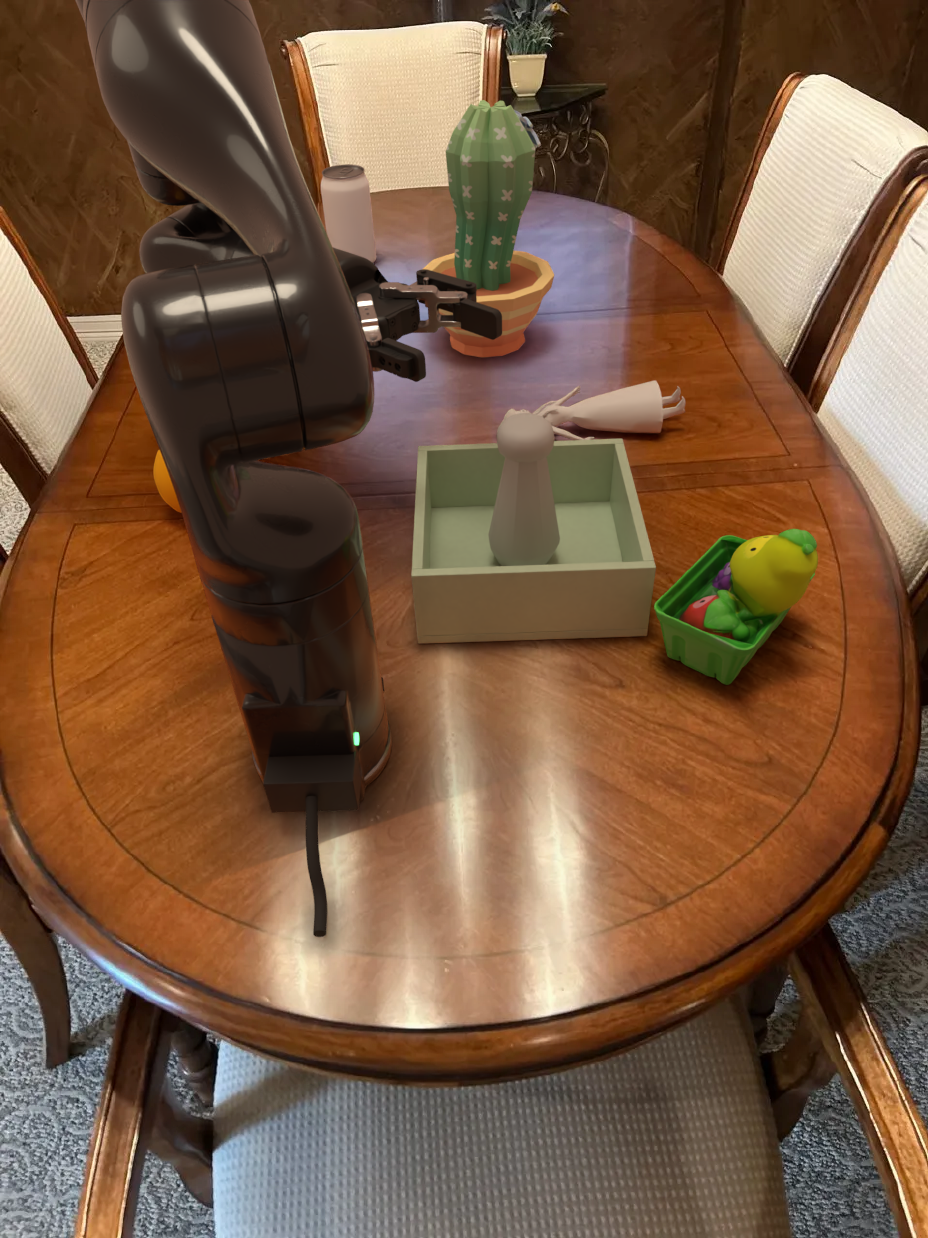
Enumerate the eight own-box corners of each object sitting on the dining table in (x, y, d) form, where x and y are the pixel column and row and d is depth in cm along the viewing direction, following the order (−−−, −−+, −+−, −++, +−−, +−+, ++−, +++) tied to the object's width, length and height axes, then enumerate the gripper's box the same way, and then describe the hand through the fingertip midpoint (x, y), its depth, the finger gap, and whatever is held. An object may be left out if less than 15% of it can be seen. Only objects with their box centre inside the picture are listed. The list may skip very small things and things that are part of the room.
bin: (647, 636, 70) (656, 567, 65) (417, 643, 70) (411, 575, 66) (616, 503, 83) (622, 438, 78) (423, 510, 83) (418, 445, 79)
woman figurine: (697, 411, 85) (506, 433, 86) (694, 452, 88) (509, 473, 89) (671, 354, 94) (497, 375, 95) (669, 393, 97) (500, 413, 98)
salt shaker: (524, 592, 73) (525, 452, 64) (474, 561, 76) (469, 423, 68) (573, 559, 76) (580, 420, 67) (523, 530, 79) (524, 394, 70)
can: (323, 269, 127) (310, 176, 119) (341, 251, 131) (330, 161, 123) (366, 272, 125) (356, 179, 117) (383, 255, 130) (374, 164, 122)
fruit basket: (715, 580, 75) (738, 462, 67) (819, 625, 70) (857, 504, 63) (642, 659, 68) (658, 538, 61) (752, 713, 64) (784, 590, 56)
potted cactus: (575, 353, 105) (587, 111, 88) (450, 381, 101) (437, 134, 84) (519, 303, 116) (521, 79, 99) (404, 326, 112) (385, 97, 95)
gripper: (239, 274, 70) (389, 332, 61) (373, 220, 77) (523, 265, 69) (258, 365, 75) (399, 430, 66) (382, 306, 82) (522, 357, 74)
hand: (462, 346), depth 68 cm, fingers open, 8 cm apart
